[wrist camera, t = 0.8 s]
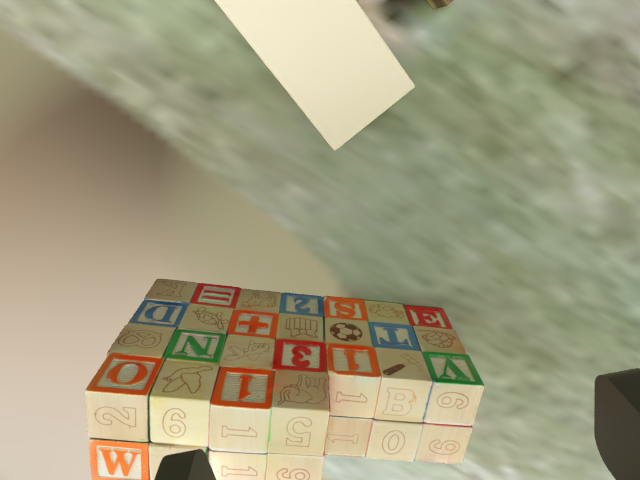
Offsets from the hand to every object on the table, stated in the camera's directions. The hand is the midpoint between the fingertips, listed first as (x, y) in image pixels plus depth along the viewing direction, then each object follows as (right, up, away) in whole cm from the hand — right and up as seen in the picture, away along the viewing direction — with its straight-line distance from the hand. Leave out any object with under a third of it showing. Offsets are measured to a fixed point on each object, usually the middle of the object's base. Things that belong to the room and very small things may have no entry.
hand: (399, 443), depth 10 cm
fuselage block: (-4, +18, +18) cm, 26 cm away
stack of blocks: (-3, -2, +27) cm, 27 cm away
